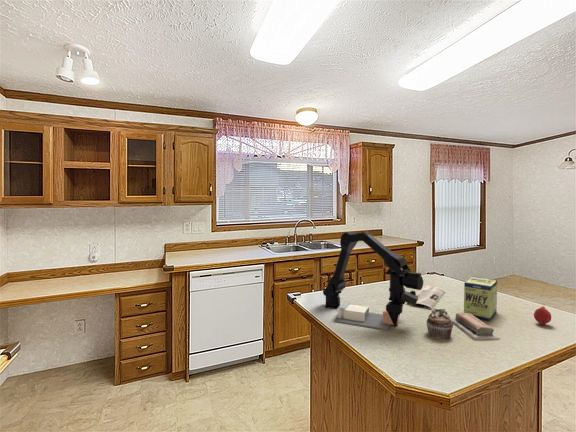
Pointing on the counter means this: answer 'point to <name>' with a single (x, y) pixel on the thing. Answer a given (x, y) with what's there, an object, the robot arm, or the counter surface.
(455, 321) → the packaged product
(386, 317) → the stub
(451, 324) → the cupcake
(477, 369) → the counter surface
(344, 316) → the grey flat tray
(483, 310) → the protein box
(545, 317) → the onion
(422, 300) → the newspaper
